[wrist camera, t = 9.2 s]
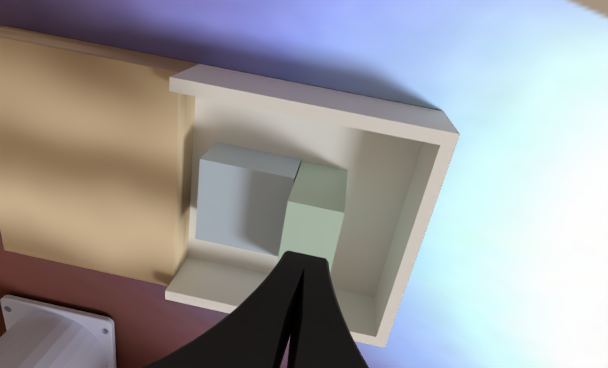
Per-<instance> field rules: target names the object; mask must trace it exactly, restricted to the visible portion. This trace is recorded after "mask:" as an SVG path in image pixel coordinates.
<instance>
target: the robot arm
mask: <svg viewBox="0 0 608 368" xmlns="http://www.w3.org/2000/svg"><path fill="white" fill-rule="evenodd" d="M0 302H1V307H2V312H3V316H4V321H5V326H6V330H7V331H6V332H5V333H4V334H3V335H2V336H1V337H0V368H117V366H116V348H115V330H114V322H113V320H112V319H111V318H109V317H106V316H102V315H97V314H93V313H88V312H84V311H79V310H75V309H71V308H66V307H62V306H57V305H53V304H48V303H44V302H39V301H35V300H31V299H26V298H22V297H17V296H13V295H5V296H4V297H3V298H1V300H0ZM289 337H290V344H289V353H288V363H287V368H369V367H368V366H367V364H366V362H365V360H364V359H363V357H362V355H361V353H360V351H359V349H358V348H357V346H356V344H355V342H354V340H353V338H352V336H351V333H350V331H349V329H348V327H347V324H346V322H345V320H344V317H343V315H342V312H341V309H340V306H339V303H338V301H337V298H336V295H335V291H334V288H333V284H332V280H331V276H330V271H329V262H328V261H327V259H326V258H321V257H317V256H312V255H307V254H303V253H298V252H293V251H289V250H288V251H286V252H284V253H283V255H282V257H281V259H280V260H279V262H278V263H277V265H276V266H275V267H274V269H273V270H272V271H271V272H270V274H269V275H268V276H267V277H266V278H265V279H264V281H263V282H262V283H261V284H260V285H259V286H258V287H257V288H256V290H255V291H254V292H253V293H252V294H251V295H249V296H248V297H247V298H246V299H245V300H244V301H243V302H242V303H241V304H240V305H239V306H238V307H237V308H236V309H235V310H234V311H232V312H231V313H230V314H229V315H228V316H226V317H225V318H224V319H223V320H221V321H220V322H219V323H217V324H216V325H215V326H213V327H212V328H210V329H209V330H208V331H206V332H205V333H204V334H202V335H201V336H199V337H198V338H196V339H194V340H193V341H191V342H190V343H188V344H186V345H184V346H183V347H181V348H179V349H178V350H176V351H174V352H172V353H171V354H169V355H167V356H165V357H164V358H162V359H160V360H158V361H156V362H154V363H151V364H149V365H147V366H145V367H143V368H280V365H281V362H282V359H283V356H284V353H285V349H286V346H287V343H288V340H289Z"/></svg>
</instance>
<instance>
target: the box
mask: <svg viewBox="0 0 608 368" xmlns="http://www.w3.org/2000/svg"><path fill="white" fill-rule="evenodd" d="M169 91H171V92H176V93H181V94H186V95H191V96H195V114H194V135H193V156H192V177H191V198H190V219H189V240H188V257H187V259H186V260H185V262H184V263H183V265H182V266H181V268H180V269H179V271H178V272H177V274H176V275H175V277H174V278H173V280H172V281H171V283H170V284H169V286H168V287H167V289H166V290H165V299H167V300H171V301H176V302H180V303H185V304H189V305H194V306H198V307H203V308H207V309H212V310H217V311H221V312H226V313H231V312H232V311H234V310H235V309H236V308H237V307H238V306H239V305H240V304H241V303H242V302H243V301H244V300H245V299H246V298H247V297H248V296H249V295H251V294H252V293H253V292H254V291H255V290H256V288H257V287H258V286H259V285H260V284H261V283H262V282H263V281H264V279H265V278H266V277H267V276H268V275H269V274H270V272H271V271H272V270H273V269H274V267H275V266H276V265H277V262H278V256H273V255H268V254H264V253H259V252H254V251H250V250H245V249H240V248H236V247H231V246H226V245H222V244H217V243H212V242H208V241H203V240H199V239H195V234H196V217H197V199H198V182H199V165H200V158H201V157H202V156H203V155H204V154H205V153H206V152H207V151H208V150H209V149H210V148H211V147H212V146H213V145H214V144H215V143H216V142H219V143H224V144H229V145H233V146H238V147H243V148H248V149H253V150H258V151H263V152H268V153H273V154H277V155H282V156H287V157H292V158H297V159H301V162H302V161H304V162H309V163H314V164H319V165H324V166H329V167H334V168H339V169H344V170H348V173H347V187H346V200H345V213H344V217H343V221H342V226H341V230H340V234H339V238H338V242H337V246H336V250H335V254H334V259H333V263H332V267H331V271H330V276H331V280H332V284H333V288H334V291H335V295H336V298H337V301H338V303H339V306H340V309H341V312H342V315H343V317H344V320H345V322H346V324H347V327H348V329H349V331H350V333H351V336H352V338H353V340H354V341H356V342H361V343H365V344H370V345H374V346H379V347H383V348H385V345H386V343H387V340H388V337H389V334H390V331H391V328H392V326H393V323H394V320H395V317H396V314H397V311H398V309H399V306H400V303H401V300H402V297H403V294H404V291H405V289H406V286H407V283H408V280H409V277H410V274H411V272H412V269H413V266H414V263H415V260H416V257H417V255H418V252H419V249H420V246H421V243H422V240H423V238H424V235H425V232H426V229H427V226H428V223H429V221H430V218H431V215H432V212H433V209H434V206H435V204H436V201H437V198H438V195H439V192H440V189H441V186H442V184H443V181H444V178H445V175H446V172H447V169H448V167H449V164H450V161H451V158H452V155H453V152H454V150H455V147H456V144H457V141H458V138H459V135H460V134H459V132H458V131H457V129H456V128H455V127H454V125H453V124H452V122H451V121H450V119H449V118H448V117H447V115H446V114H445V112H444V111H439V110H434V109H429V108H424V107H419V106H413V105H408V104H403V103H398V102H393V101H388V100H383V99H378V98H372V97H367V96H362V95H357V94H352V93H347V92H342V91H337V90H331V89H326V88H321V87H316V86H311V85H306V84H301V83H296V82H291V81H285V80H280V79H275V78H270V77H265V76H260V75H255V74H250V73H244V72H239V71H234V70H229V69H224V68H219V67H214V66H209V65H204V64H198V65H196V66H194V67H191V68H189V69H187V70H184V71H182V72H180V73H177V74H175V75H173V76H170V77H169ZM300 165H301V164H300Z"/></svg>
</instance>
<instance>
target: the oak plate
mask: <svg viewBox="0 0 608 368" xmlns="http://www.w3.org/2000/svg"><path fill="white" fill-rule="evenodd" d="M196 65H198V63H193V62H188V61H183V60H178V59H173V58H168V57H163V56H157V55H152V54H147V53H142V52H137V51H132V50H127V49H122V48H117V47H111V46H106V45H101V44H96V43H91V42H86V41H81V40H76V39H70V38H65V37H60V36H55V35H50V34H45V33H40V32H35V31H29V30H24V29H19V28H14V27H9V26H0V230H1V235H2V240H3V245H4V250H7V251H11V252H16V253H20V254H25V255H29V256H34V257H38V258H43V259H47V260H52V261H57V262H61V263H66V264H70V265H75V266H79V267H84V268H88V269H93V270H97V271H102V272H106V273H111V274H116V275H120V276H125V277H129V278H134V279H138V280H143V281H147V282H152V283H156V284H161V285H166V286H169V284H170V283H171V281H172V280H173V278H174V277H175V275H176V274H177V272H178V271H179V269H180V268H181V266H182V265H183V263H184V262H185V260H186V259H187V257H188V240H189V219H190V198H191V177H192V156H193V135H194V114H195V96H191V95H186V94H181V93H176V92H171V91H169V77H170V76H173V75H175V74H177V73H180V72H182V71H184V70H187V69H189V68H191V67H194V66H196Z"/></svg>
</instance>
